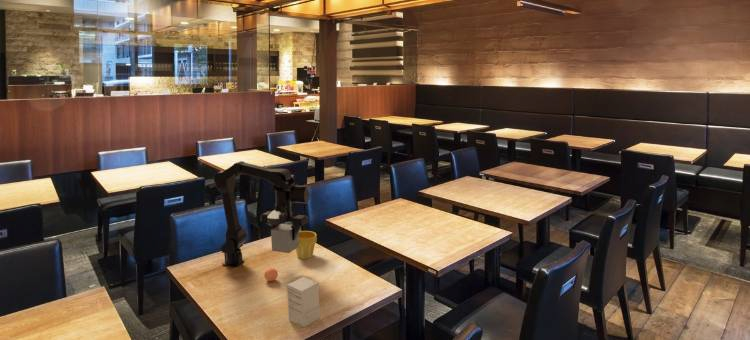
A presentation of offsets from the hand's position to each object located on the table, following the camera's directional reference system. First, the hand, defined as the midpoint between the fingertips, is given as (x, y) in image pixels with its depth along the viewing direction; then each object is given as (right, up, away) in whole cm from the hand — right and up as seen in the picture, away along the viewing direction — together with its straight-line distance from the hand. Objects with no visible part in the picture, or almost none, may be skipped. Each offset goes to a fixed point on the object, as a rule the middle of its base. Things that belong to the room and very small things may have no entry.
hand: (285, 238), depth 184 cm
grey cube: (0, -4, +1) cm, 4 cm away
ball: (-4, -12, -8) cm, 15 cm away
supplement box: (+13, -21, -35) cm, 43 cm away
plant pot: (+6, -10, +16) cm, 20 cm away
